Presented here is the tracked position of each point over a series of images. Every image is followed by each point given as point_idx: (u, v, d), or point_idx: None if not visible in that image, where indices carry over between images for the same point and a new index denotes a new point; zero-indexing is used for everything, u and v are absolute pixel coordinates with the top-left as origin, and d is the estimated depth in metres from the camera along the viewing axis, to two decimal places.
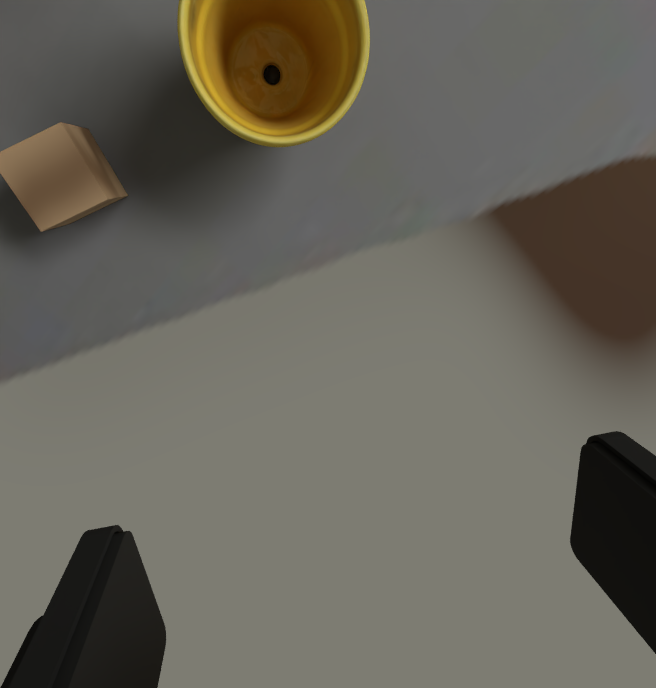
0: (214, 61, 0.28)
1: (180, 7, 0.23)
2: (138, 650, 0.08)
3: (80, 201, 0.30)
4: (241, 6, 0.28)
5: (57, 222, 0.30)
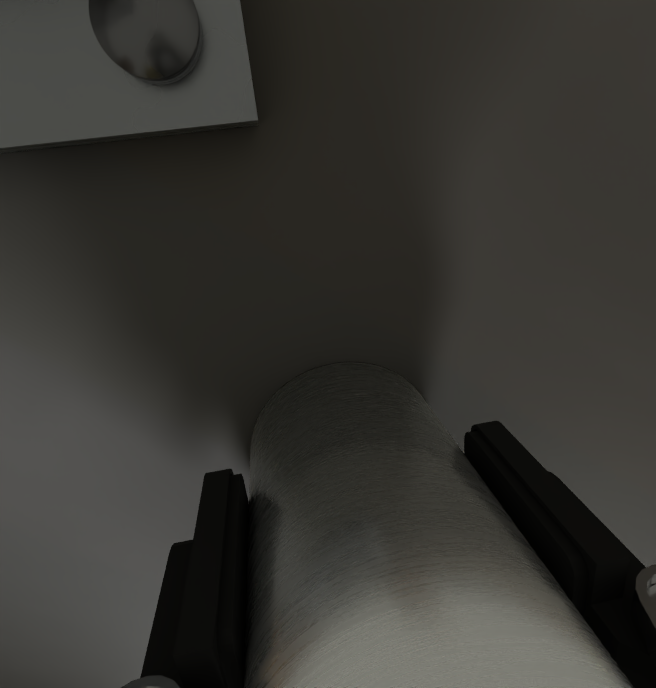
0: None
1: None
2: None
3: None
4: None
5: None
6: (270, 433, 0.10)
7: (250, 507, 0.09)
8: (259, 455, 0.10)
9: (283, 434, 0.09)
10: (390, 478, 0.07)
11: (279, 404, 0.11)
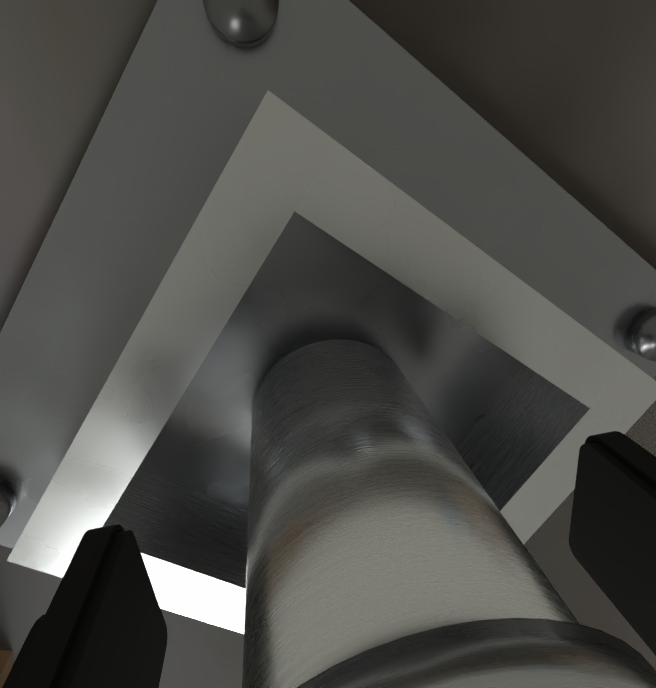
0: None
1: None
2: (140, 649, 0.08)
3: None
4: None
5: None
6: (268, 397, 0.12)
7: (251, 455, 0.11)
8: (259, 415, 0.12)
9: (279, 396, 0.11)
10: (362, 420, 0.09)
11: (276, 374, 0.12)
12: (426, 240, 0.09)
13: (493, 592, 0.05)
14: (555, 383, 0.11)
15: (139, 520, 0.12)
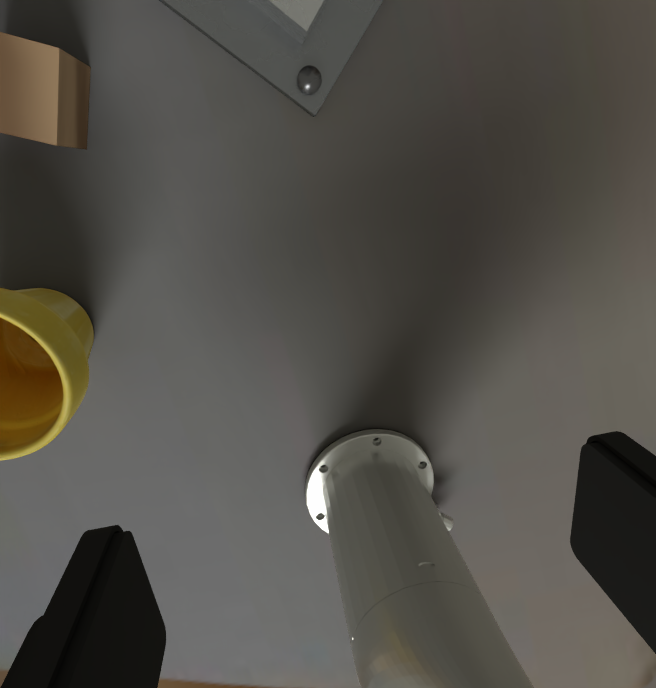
0: None
1: (33, 332, 0.25)
2: (138, 650, 0.08)
3: None
4: None
5: None
6: None
7: None
8: None
9: None
10: None
11: None
12: None
13: None
14: None
15: None
